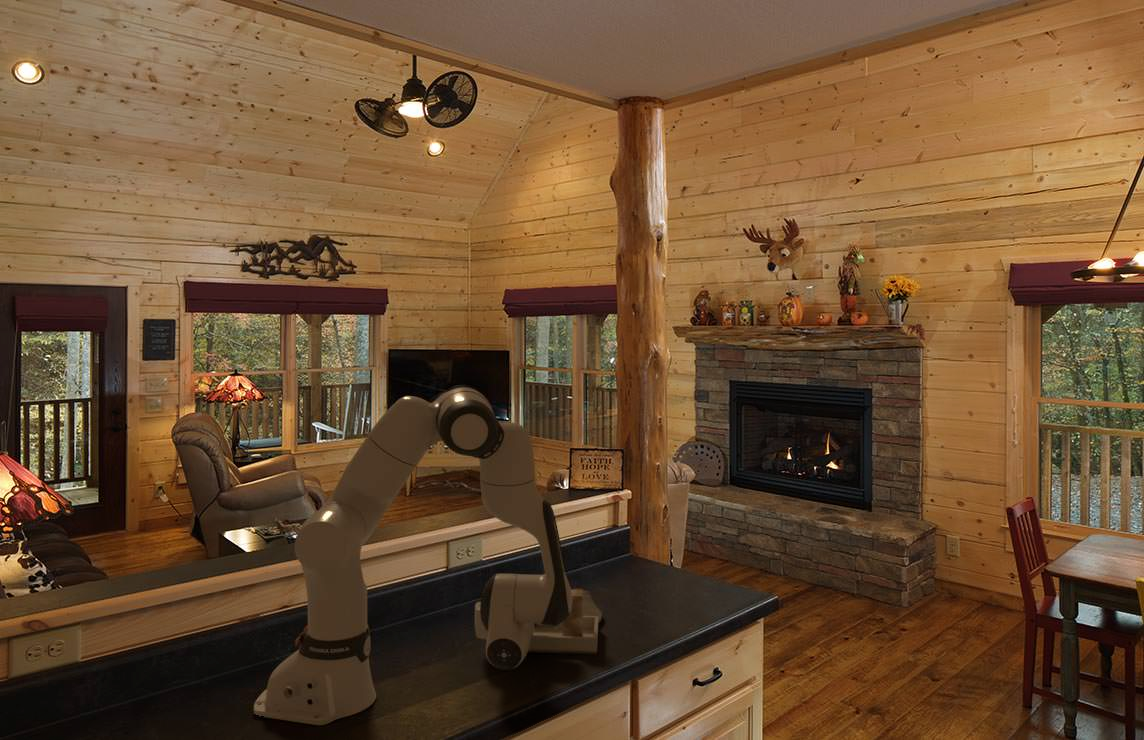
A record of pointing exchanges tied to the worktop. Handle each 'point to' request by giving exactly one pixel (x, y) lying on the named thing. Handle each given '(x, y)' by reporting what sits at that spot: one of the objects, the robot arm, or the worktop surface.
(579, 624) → the birch block
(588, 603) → the stone tool
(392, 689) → the worktop surface
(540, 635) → the beige tray
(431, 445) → the robot arm
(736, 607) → the worktop surface
